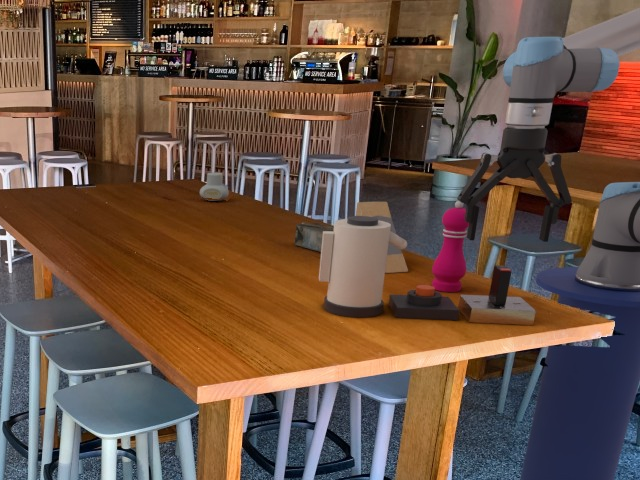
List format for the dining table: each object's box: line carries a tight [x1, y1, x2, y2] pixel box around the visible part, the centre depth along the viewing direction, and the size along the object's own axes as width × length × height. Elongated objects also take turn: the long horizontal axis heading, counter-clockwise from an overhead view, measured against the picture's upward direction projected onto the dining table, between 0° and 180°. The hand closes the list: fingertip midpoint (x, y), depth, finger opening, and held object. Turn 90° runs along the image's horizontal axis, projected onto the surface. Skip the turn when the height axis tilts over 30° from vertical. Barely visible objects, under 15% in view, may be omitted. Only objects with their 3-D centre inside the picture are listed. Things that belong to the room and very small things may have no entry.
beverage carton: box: [294, 221, 334, 253], centre depth 217 cm, size 8×19×7 cm, turn 28°
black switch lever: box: [488, 264, 512, 306], centre depth 159 cm, size 5×2×7 cm, turn 171°
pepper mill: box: [431, 200, 469, 293], centre depth 178 cm, size 7×7×20 cm
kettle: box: [318, 215, 408, 319], centre depth 163 cm, size 17×12×19 cm
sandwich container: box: [355, 201, 409, 274], centre depth 200 cm, size 9×15×15 cm, turn 11°
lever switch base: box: [457, 294, 537, 326], centre depth 161 cm, size 12×10×3 cm
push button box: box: [388, 289, 460, 321], centre depth 164 cm, size 12×10×4 cm
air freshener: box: [199, 172, 230, 202], centre depth 297 cm, size 11×8×10 cm
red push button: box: [415, 284, 436, 296], centre depth 163 cm, size 4×4×2 cm
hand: (506, 239), depth 156 cm, fingers open, 13 cm apart
